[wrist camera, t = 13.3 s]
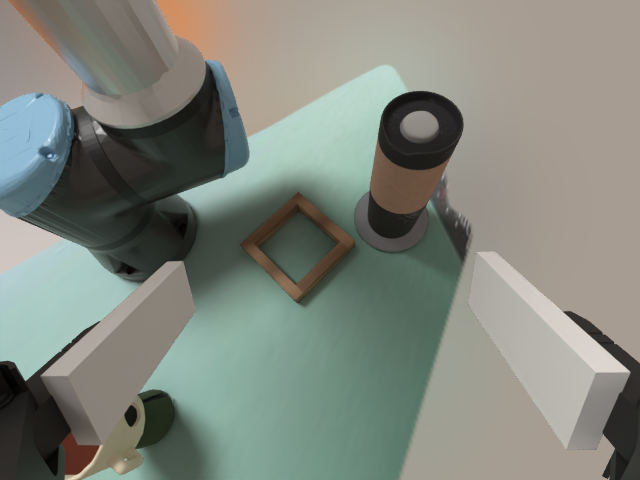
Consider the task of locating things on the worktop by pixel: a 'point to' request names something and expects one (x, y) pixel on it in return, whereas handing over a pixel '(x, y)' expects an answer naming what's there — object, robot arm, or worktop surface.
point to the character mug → (122, 439)
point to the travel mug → (410, 159)
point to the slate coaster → (382, 242)
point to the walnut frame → (276, 223)
